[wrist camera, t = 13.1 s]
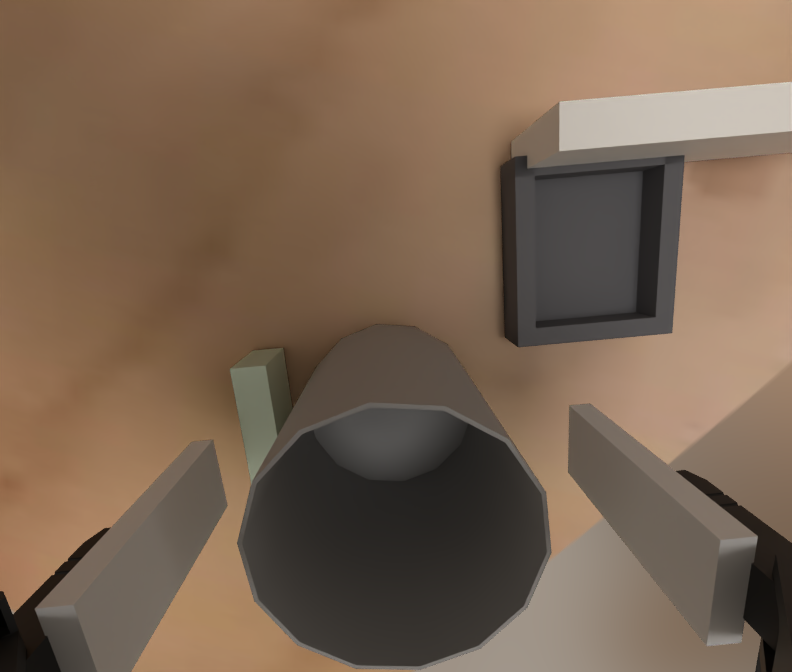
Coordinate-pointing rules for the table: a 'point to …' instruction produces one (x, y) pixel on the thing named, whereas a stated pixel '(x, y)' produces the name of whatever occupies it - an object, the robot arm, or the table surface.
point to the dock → (261, 401)
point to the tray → (590, 249)
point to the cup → (393, 510)
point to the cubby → (662, 127)
